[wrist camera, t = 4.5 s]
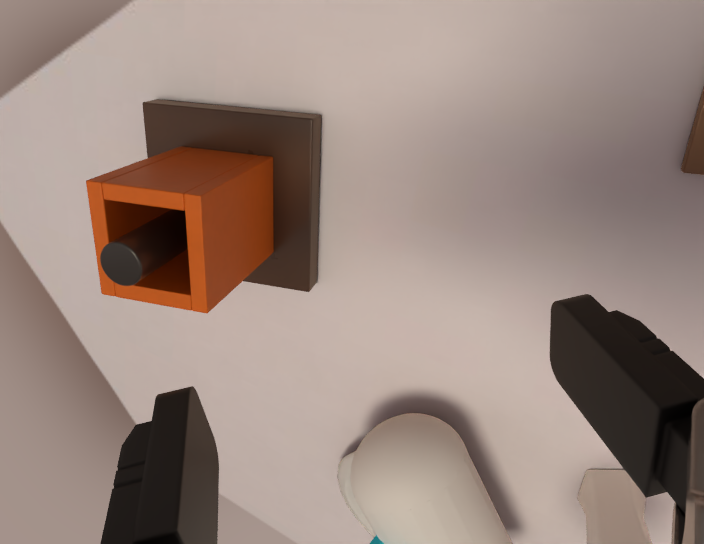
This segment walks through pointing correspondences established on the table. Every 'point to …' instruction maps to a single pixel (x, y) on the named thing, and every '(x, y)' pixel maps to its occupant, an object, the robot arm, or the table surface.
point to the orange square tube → (189, 221)
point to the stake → (239, 137)
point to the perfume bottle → (613, 508)
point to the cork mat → (695, 144)
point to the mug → (418, 486)
